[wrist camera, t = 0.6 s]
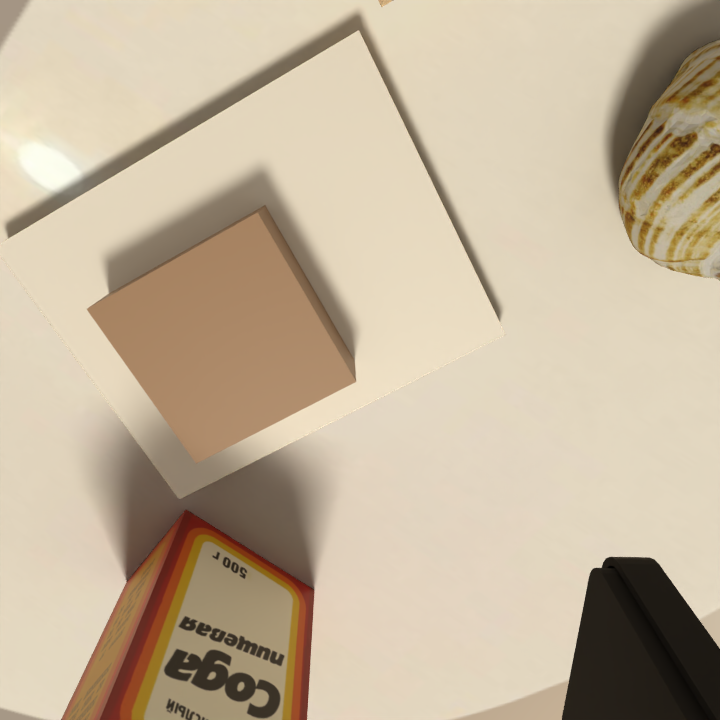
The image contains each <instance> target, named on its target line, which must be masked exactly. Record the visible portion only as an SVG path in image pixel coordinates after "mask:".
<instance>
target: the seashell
mask: <svg viewBox="0 0 720 720" xmlns="http://www.w3.org/2000/svg"><path fill="white" fill-rule="evenodd" d="M618 186H619V209H620V213H621V217H622V220H623V223H624V226H625V229H626V232H627V234H628V237H629V239H630V241H631V243H632V245H633V247H634V248H635V249H636V250H637V251H638V252H639V253H641V254H642V255H644V256H646V257H648V258H650V259H651V260H653V261H654V262H655V263H657V264H659V265H660V266H663V267H665V268H668V269H670V270H673V271H677V272H681V273H686V274H690V275H694V276H700V277H705V278H716V279H718V280H720V40H717V41H714V42H711V43H709V44H707V45H705V46H703V47H701V48H699V49H697V50H695V51H694V52H692V53H691V54H690V55H689V56H688V57H687V58H686V59H685V60H684V62H683V63H682V65H681V66H680V68H679V70H678V72H677V74H676V75H675V77H674V79H673V80H672V82H671V84H670V85H669V86H668V87H667V89H666V90H665V91H664V92H663V94H662V95H661V97H660V98H659V99H658V100H657V101H656V102H655V104H654V105H653V106H652V107H651V109H650V111H649V114H648V118H647V120H646V122H645V124H644V125H643V127H642V129H641V131H640V133H639V135H638V137H637V139H636V141H635V142H634V144H633V146H632V148H631V150H630V152H629V155H628V157H627V159H626V161H625V164H624V166H623V168H622V171H621V174H620V178H619V184H618Z"/></svg>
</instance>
